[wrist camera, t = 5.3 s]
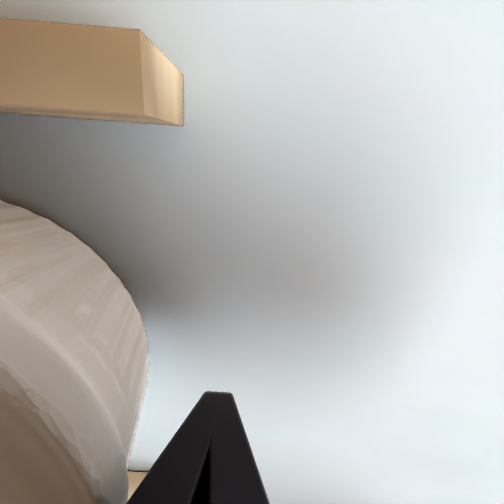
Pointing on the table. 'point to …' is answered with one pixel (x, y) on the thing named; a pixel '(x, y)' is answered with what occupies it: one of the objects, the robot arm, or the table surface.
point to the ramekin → (65, 368)
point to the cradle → (88, 80)
